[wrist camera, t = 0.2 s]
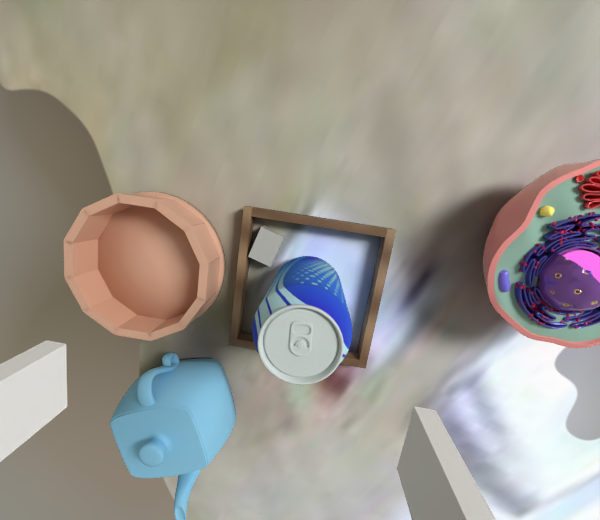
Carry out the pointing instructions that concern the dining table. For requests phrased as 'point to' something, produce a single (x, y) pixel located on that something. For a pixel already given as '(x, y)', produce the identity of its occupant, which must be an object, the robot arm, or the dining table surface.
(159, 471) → the teapot
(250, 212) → the tray
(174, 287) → the dish
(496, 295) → the cell model
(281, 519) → the dining table surface
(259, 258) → the stone
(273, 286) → the beer can
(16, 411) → the robot arm
